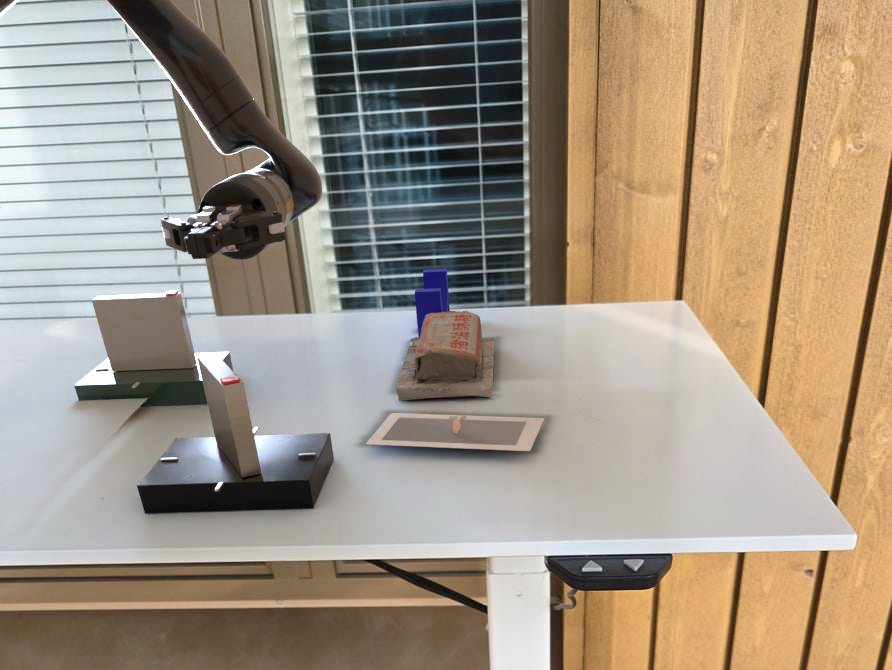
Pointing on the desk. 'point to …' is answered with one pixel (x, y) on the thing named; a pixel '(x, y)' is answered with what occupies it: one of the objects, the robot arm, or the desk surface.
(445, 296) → the blue stepped block
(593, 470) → the desk surface
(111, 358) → the beige slab
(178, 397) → the green base plate
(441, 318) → the brown block with base
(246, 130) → the robot arm
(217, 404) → the red-tipped upright panel
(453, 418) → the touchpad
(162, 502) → the black square base
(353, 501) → the desk surface
